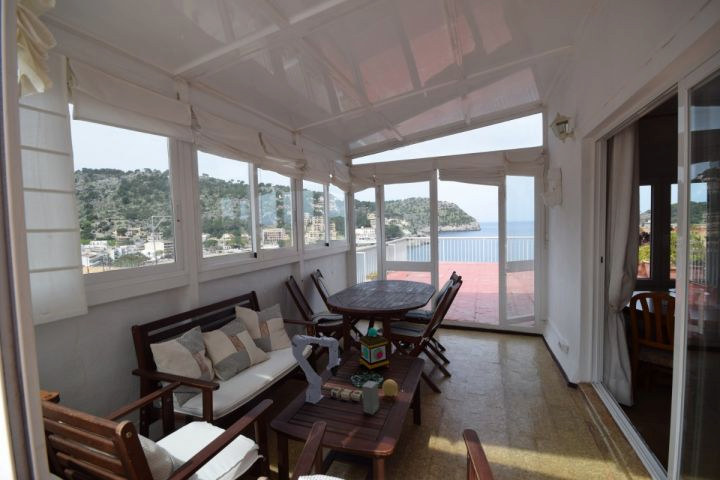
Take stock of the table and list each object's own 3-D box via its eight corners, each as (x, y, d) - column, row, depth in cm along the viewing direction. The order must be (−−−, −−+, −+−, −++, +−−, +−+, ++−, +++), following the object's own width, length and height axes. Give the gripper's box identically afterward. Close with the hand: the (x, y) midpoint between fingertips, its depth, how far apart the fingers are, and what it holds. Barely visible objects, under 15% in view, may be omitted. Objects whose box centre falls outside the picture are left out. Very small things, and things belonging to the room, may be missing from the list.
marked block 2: (359, 401, 196) (359, 395, 196) (352, 399, 199) (351, 393, 198) (363, 397, 201) (362, 391, 200) (356, 395, 203) (355, 389, 203)
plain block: (348, 400, 198) (348, 394, 198) (341, 399, 200) (341, 393, 200) (352, 396, 202) (351, 390, 202) (345, 395, 205) (344, 389, 204)
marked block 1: (337, 398, 201) (337, 392, 201) (331, 396, 203) (330, 390, 203) (341, 394, 206) (341, 388, 205) (335, 392, 208) (335, 386, 208)
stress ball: (390, 402, 196) (402, 390, 196) (379, 390, 196) (391, 378, 197) (389, 396, 206) (400, 385, 206) (378, 384, 206) (389, 373, 207)
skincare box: (373, 415, 182) (371, 388, 181) (362, 411, 185) (361, 385, 184) (379, 407, 189) (378, 382, 188) (369, 404, 193) (368, 379, 192)
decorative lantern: (356, 364, 247) (355, 326, 245) (378, 358, 256) (376, 321, 254) (369, 374, 229) (367, 334, 227) (392, 367, 239) (390, 329, 237)
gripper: (332, 361, 202) (333, 382, 202) (344, 352, 214) (345, 372, 215) (323, 359, 205) (324, 380, 206) (335, 351, 218) (336, 370, 219)
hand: (334, 375), depth 211 cm, fingers closed
